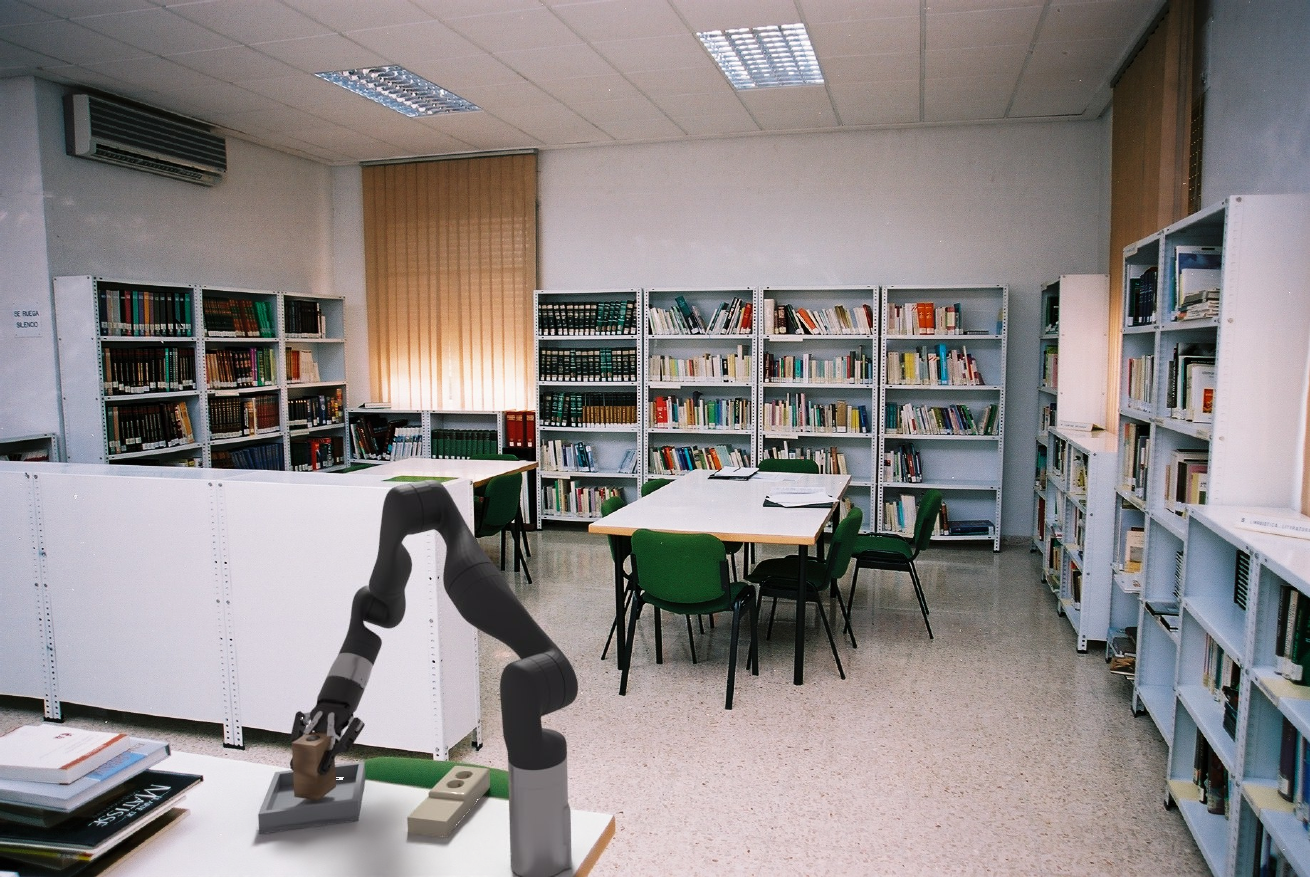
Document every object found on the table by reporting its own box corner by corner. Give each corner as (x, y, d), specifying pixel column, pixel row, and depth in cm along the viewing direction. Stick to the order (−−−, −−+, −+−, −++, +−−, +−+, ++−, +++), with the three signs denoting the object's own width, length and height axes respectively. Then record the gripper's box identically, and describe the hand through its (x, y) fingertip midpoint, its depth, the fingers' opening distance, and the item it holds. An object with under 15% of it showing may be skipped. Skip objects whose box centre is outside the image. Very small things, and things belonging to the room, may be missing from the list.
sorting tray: (365, 778, 162) (364, 761, 162) (358, 820, 147) (357, 800, 147) (275, 790, 158) (275, 772, 158) (259, 833, 143) (258, 814, 143)
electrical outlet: (407, 811, 142) (454, 764, 160) (407, 834, 143) (455, 785, 160) (446, 816, 141) (489, 767, 158) (446, 839, 141) (490, 788, 159)
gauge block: (335, 786, 154) (333, 733, 154) (318, 800, 150) (315, 745, 149) (312, 783, 156) (310, 731, 155) (294, 796, 151) (291, 742, 150)
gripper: (304, 671, 160) (262, 760, 150) (370, 676, 157) (332, 768, 146) (323, 688, 166) (284, 775, 155) (387, 694, 162) (351, 784, 151)
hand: (307, 771), depth 150 cm, fingers closed on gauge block, 5 cm apart
